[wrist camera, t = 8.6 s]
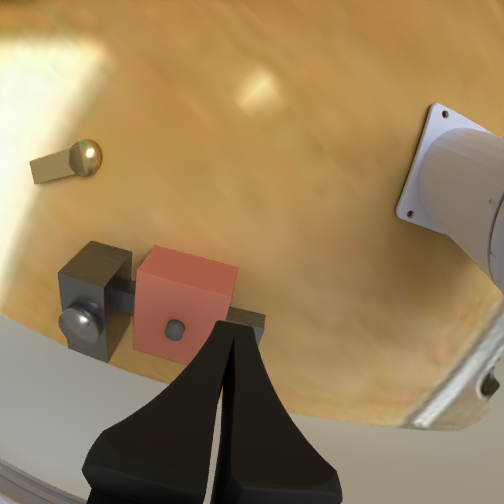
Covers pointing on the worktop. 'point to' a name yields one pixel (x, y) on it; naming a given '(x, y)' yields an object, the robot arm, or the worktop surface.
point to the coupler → (109, 301)
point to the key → (68, 162)
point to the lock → (179, 303)
